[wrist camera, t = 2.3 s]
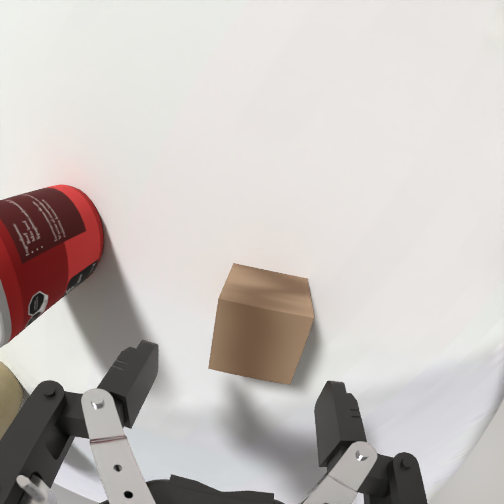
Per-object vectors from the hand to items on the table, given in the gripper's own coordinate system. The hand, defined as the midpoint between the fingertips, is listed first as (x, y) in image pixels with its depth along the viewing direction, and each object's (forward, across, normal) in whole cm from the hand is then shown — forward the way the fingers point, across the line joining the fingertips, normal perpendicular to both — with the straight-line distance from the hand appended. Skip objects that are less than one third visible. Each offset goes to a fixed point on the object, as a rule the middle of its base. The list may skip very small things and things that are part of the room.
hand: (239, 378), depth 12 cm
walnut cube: (+8, -1, 0) cm, 8 cm away
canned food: (+8, +15, -1) cm, 17 cm away
